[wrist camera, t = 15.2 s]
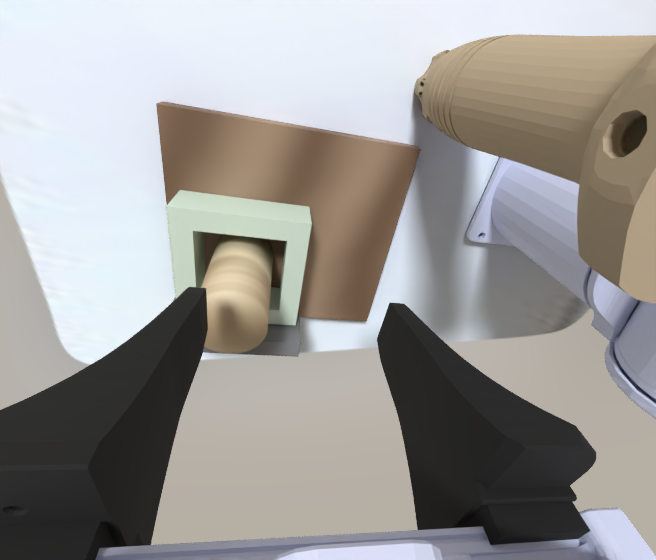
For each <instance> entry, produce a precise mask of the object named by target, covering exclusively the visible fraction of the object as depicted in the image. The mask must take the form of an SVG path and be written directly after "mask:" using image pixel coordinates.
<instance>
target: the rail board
mask: <svg viewBox="0 0 656 560" xmlns="http://www.w3.org/2000/svg"><path fill="white" fill-rule="evenodd" d="M157 114H158V124H159V133H160V143H161V153H162V162H163V172H164V182H165V192H166V201H167V205H168V204H169V202H170V201H171V200H172V199H173V198H174V196H175V195H176V194H177V193H178V192H179V190H184V191H192V192H200V193H207V194H215V195H223V196H231V197H238V198H246V199H254V200H261V201H269V202H277V203H285V204H292V205H300V206H308V207H309V208H310V215H311V222H312V225H311V232H310V238H309V244H308V251H307V257H306V263H305V270H304V276H303V282H302V289H301V295H300V301H299V308H298V314H297V320H296V326H295V325H279V324H268V331H267V335H266V337H265V339H264V340H263V341H262V343H260V344H259V345H258V346H257V347H255V348H253V349H251V350H249V351H246V352H242V353H235V354H254V355H276V356H298V354H299V349H300V321H299V317H310V318H325V319H340V320H355V321H367V318H368V315H369V311H370V308H371V305H372V302H373V299H374V295H375V292H376V289H377V286H378V283H379V280H380V276H381V273H382V270H383V267H384V264H385V260H386V257H387V254H388V251H389V248H390V245H391V241H392V238H393V235H394V232H395V229H396V225H397V222H398V219H399V216H400V213H401V210H402V206H403V203H404V200H405V197H406V194H407V190H408V187H409V184H410V181H411V178H412V175H413V171H414V168H415V165H416V162H417V159H418V155H419V152H420V149H419V148H418V147H416V146H414V145H408V144H403V143H397V142H391V141H386V140H380V139H374V138H368V137H363V136H357V135H351V134H346V133H340V132H334V131H328V130H323V129H317V128H311V127H305V126H300V125H294V124H288V123H283V122H277V121H271V120H265V119H260V118H254V117H248V116H243V115H237V114H231V113H225V112H220V111H214V110H208V109H202V108H197V107H191V106H185V105H180V104H174V103H168V102H160V103H157ZM222 235H223V234H218V233H209V232H204V251H205V275H206V272H207V270H208V267H209V264H210V262H211V259H212V256H213V253H214V251H215V248H216V245H217V243H218V241H219V239H220V237H221V236H222ZM268 240H269V242H270V244H271V246H272V249H273V264H272V278H271V287H277V288H280V284H281V275H282V266H283V257H284V249H285V241H282V240H273V239H268ZM175 299H176V296H175ZM175 299H174V300H175ZM203 352H209V353H220V352H216V351H213V350H210V349H208V348H206V347H204V349H203Z"/></svg>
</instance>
